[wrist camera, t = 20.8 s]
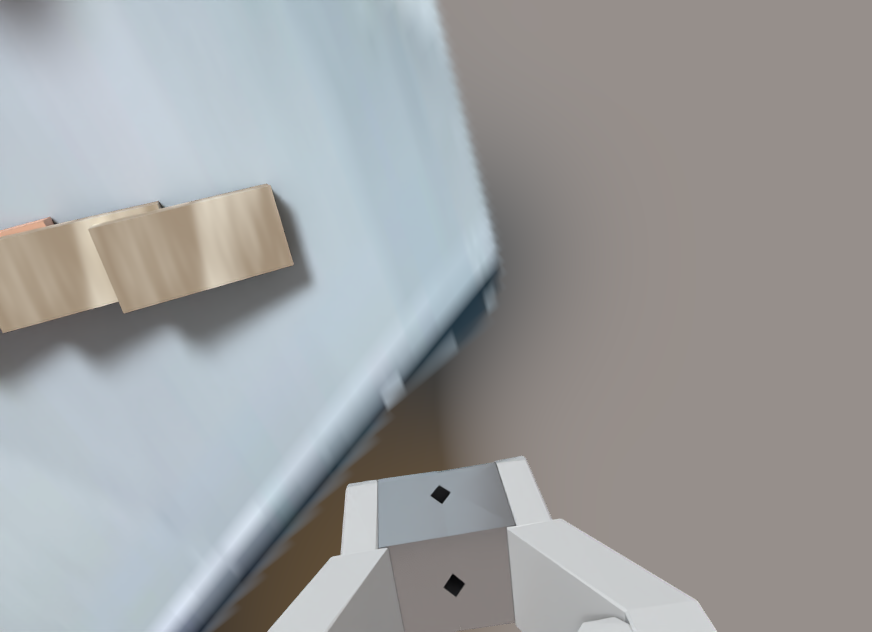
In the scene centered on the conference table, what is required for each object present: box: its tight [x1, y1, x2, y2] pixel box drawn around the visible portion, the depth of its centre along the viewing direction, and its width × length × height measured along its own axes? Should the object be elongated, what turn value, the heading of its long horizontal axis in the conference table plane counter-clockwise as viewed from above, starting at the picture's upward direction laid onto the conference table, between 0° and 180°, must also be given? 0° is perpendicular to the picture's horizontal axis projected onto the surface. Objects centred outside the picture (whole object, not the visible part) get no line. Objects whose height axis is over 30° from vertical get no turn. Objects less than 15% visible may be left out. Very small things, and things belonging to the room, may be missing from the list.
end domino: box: [88, 184, 294, 313], centre depth 34 cm, size 2×5×10 cm
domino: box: [0, 201, 161, 333], centre depth 33 cm, size 2×5×10 cm
